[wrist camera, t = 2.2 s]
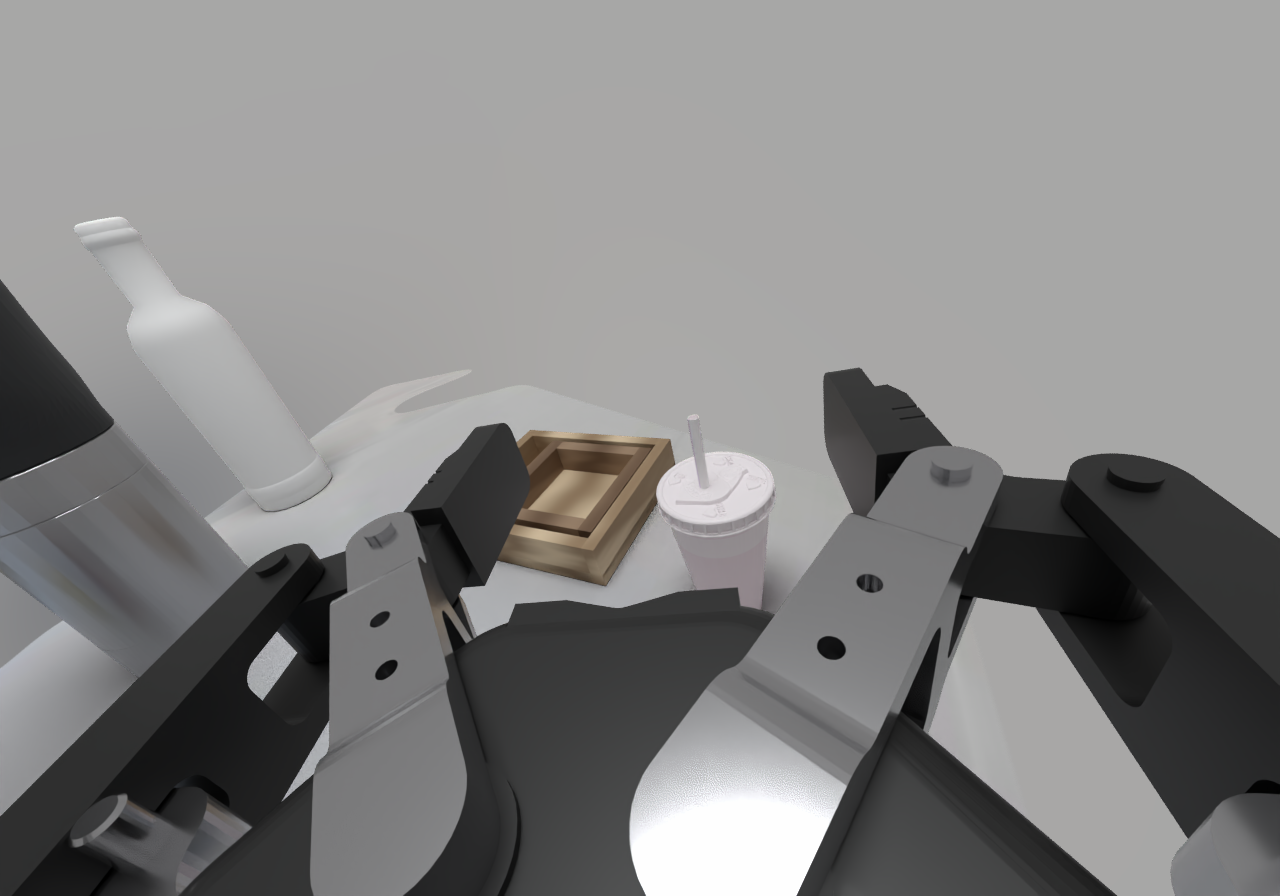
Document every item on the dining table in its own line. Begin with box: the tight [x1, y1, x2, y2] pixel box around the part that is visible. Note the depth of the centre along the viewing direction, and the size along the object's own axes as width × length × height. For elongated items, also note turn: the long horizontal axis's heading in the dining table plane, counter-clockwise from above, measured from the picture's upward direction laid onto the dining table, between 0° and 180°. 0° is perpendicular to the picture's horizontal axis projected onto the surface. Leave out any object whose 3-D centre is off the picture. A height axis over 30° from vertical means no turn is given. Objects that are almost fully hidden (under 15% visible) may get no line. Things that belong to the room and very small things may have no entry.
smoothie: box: [656, 415, 776, 610], centre depth 27 cm, size 6×6×14 cm
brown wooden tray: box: [497, 430, 675, 586], centre depth 42 cm, size 16×14×4 cm
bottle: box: [74, 217, 332, 511], centre depth 49 cm, size 8×8×30 cm
